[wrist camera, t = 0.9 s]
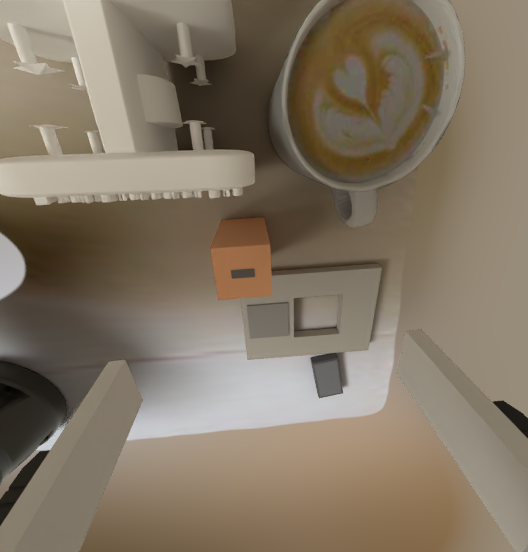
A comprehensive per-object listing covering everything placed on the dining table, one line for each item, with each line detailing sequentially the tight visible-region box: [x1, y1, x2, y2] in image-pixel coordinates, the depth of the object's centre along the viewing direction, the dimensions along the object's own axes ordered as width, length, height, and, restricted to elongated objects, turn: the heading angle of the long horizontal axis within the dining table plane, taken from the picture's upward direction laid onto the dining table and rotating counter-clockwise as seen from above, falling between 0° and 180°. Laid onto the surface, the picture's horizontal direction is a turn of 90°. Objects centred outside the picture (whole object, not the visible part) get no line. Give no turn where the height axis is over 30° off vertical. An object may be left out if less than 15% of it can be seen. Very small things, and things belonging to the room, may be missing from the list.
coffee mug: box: [268, 0, 465, 227], centre depth 19 cm, size 13×10×10 cm
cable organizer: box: [0, 0, 255, 205], centre depth 17 cm, size 15×11×12 cm
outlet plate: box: [241, 263, 382, 360], centre depth 31 cm, size 16×12×1 cm
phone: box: [311, 353, 343, 398], centre depth 36 cm, size 4×7×1 cm, turn 13°
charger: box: [210, 217, 272, 300], centre depth 23 cm, size 4×4×9 cm
